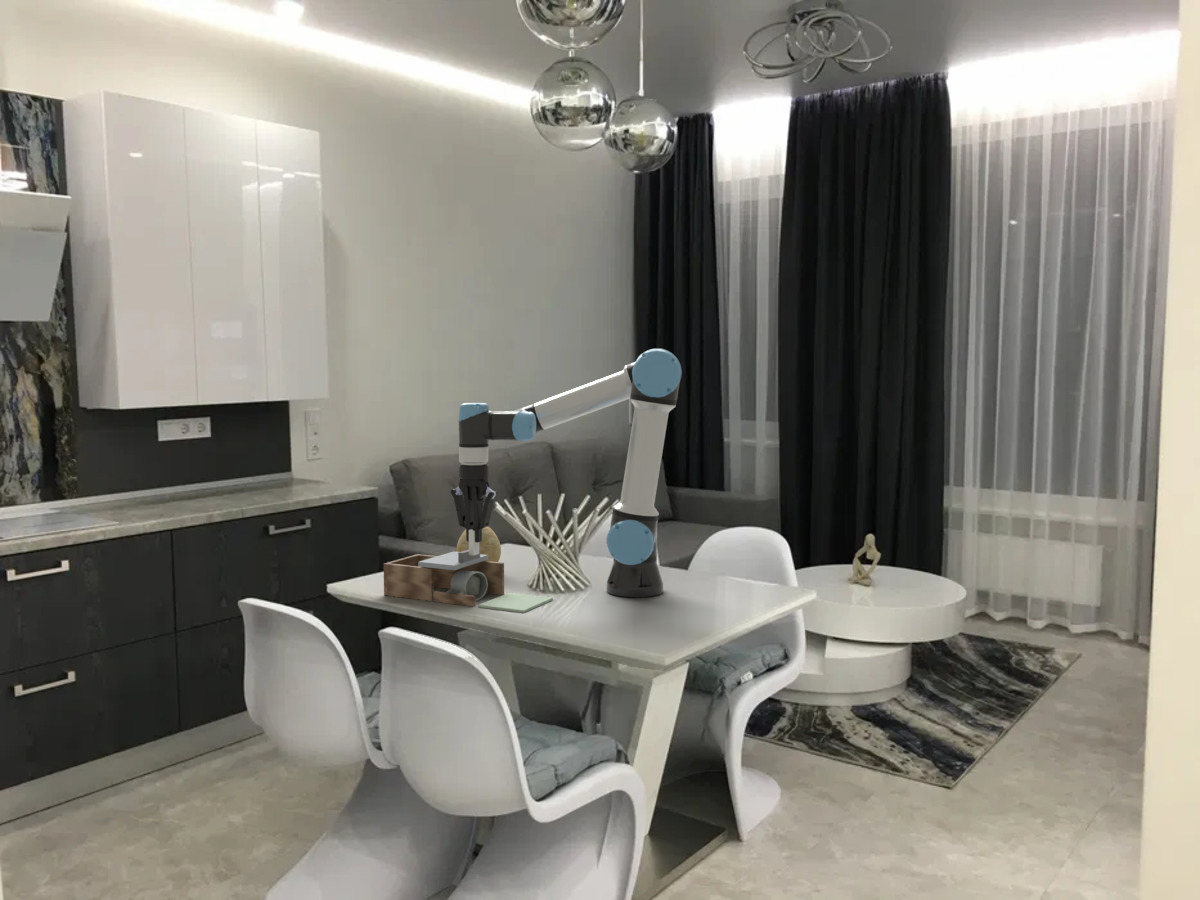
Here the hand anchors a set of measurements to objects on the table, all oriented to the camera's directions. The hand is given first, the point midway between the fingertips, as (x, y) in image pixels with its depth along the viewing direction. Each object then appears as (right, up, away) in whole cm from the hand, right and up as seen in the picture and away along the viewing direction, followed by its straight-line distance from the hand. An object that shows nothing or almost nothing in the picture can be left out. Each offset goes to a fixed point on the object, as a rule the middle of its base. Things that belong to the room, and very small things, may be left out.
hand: (474, 554), depth 257 cm
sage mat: (+11, -12, -4) cm, 17 cm away
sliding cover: (-6, -3, +3) cm, 7 cm away
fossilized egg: (-3, -9, +31) cm, 32 cm away
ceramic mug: (-2, -12, +1) cm, 12 cm away
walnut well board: (-8, -11, +5) cm, 15 cm away
